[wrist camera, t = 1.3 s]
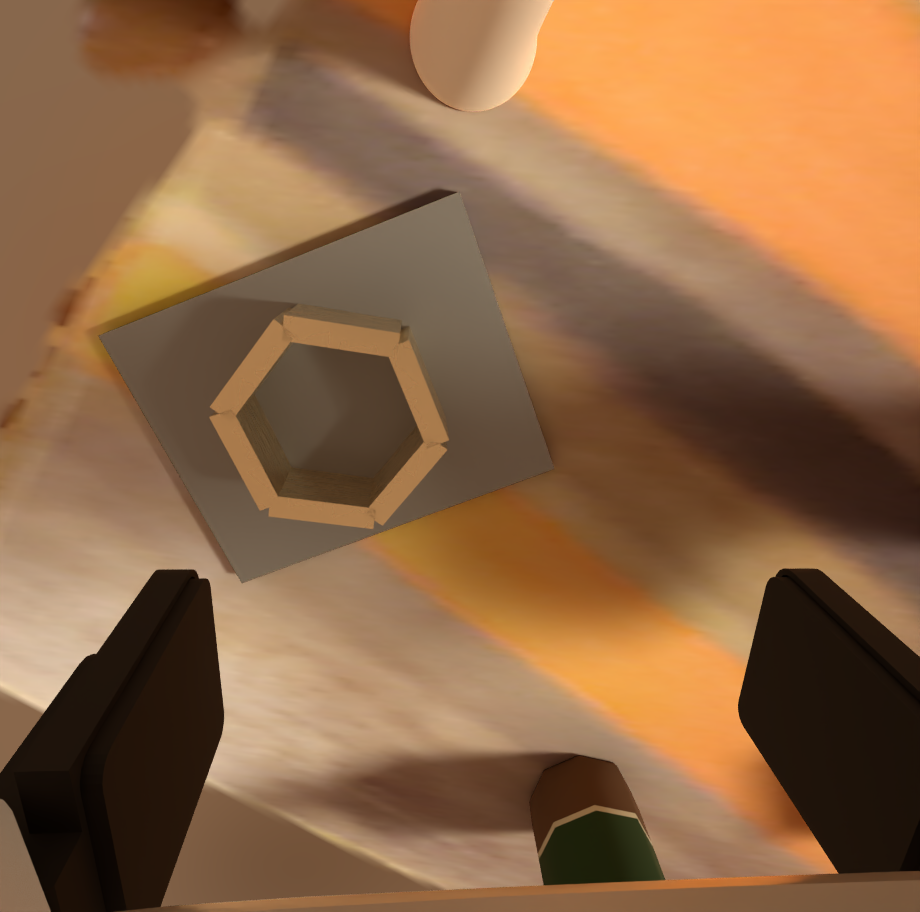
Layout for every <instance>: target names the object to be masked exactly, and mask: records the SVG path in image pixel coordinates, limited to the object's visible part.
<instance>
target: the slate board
mask: <svg viewBox="0 0 920 912" xmlns="http://www.w3.org/2000/svg"><path fill="white" fill-rule="evenodd" d="M297 304H304V305H310V306H317V307H323V308H329V309H335V310H342V311H348V312H354V313H360V314H367V315H373V316H379V317H385V318H392V319H398V320H402V323H401V329H404V328H407V327H409V326H410V329H411V331H412V334H413V336H414V339H415V341H416V344H417V346H418V349H419V351H420V354H421V356H422V359H423V361H424V364H425V366H426V369H427V371H428V374H429V376H430V379H431V381H432V384H433V386H434V389H435V391H436V394H437V396H438V399H439V401H440V404H441V406H442V409H443V411H444V414H445V417H446V423H447V429H448V436H449V441H446V443H447V451H446V452H445V453H444V455H443V456H442V457H441V458H440V459H439V460H438V462H437V463H436V464H435V465H434V466H433V467H432V469H431V470H430V471H429V472H428V473H427V474H426V476H425V477H424V478H423V479H422V480H421V481H420V483H419V484H418V485H417V486H416V487H415V488H414V490H413V491H412V492H411V493H410V494H409V495H408V497H407V498H406V499H405V500H404V501H403V502H402V504H401V505H400V506H399V507H398V508H397V509H396V511H395V512H394V513H393V514H392V515H391V516H390V518H389V519H388V520H387V521H386V522H385V523H384V525H383V526H382V525H381V524H379V523H378V522H376V521H375V520H374V527H373V529H368V528H359V527H351V526H343V525H335V524H326V523H318V522H310V521H301V520H293V519H285V518H277V517H269V508H266V509H264V510H261V511H260V510H259V508H258V506H257V505H256V503H255V501H254V499H253V497H252V495H251V494H250V492H249V490H248V488H247V486H246V484H245V482H244V481H243V479H242V477H241V475H240V473H239V471H238V470H237V468H236V466H235V464H234V462H233V460H232V458H231V457H230V455H229V453H228V451H227V449H226V447H225V446H224V444H223V442H222V440H221V438H220V436H219V435H218V433H217V431H216V429H215V427H214V425H213V423H212V422H211V420H210V418H209V417H210V416H211V415H212V414H213V413H214V412H215V410H213V409H212V408H210V406H211V404H212V403H213V402H214V400H215V399H216V398H217V396H218V395H219V393H220V392H221V391H222V389H223V388H224V387H225V385H226V384H227V382H228V381H229V380H230V378H231V377H232V376H233V374H234V373H235V371H236V370H237V369H238V367H239V366H240V365H241V363H242V362H243V360H244V359H245V358H246V356H247V355H248V354H249V352H250V351H251V349H252V348H253V347H254V345H255V344H256V343H257V341H258V340H259V338H260V337H261V336H262V334H263V333H264V332H265V330H266V329H267V327H268V326H269V325H270V323H271V322H272V321H273V319H274V318H276V317H277V316H278V315H280V314H281V313H282V312H284V311H285V310H286V309H287V308H291V309H292V308H293V307H295V306H296V305H297ZM99 338H100V340H101V342H102V343H103V345H104V347H105V348H106V350H107V352H108V354H109V355H110V357H111V359H112V360H113V362H114V364H115V366H116V367H117V369H118V371H119V373H120V374H121V376H122V378H123V379H124V381H125V383H126V385H127V386H128V388H129V390H130V391H131V393H132V395H133V397H134V398H135V400H136V402H137V404H138V405H139V407H140V409H141V410H142V412H143V414H144V416H145V417H146V419H147V421H148V423H149V424H150V426H151V428H152V429H153V431H154V433H155V435H156V436H157V438H158V440H159V441H160V443H161V445H162V447H163V448H164V450H165V452H166V454H167V455H168V457H169V459H170V460H171V462H172V464H173V466H174V467H175V469H176V471H177V472H178V474H179V476H180V478H181V479H182V481H183V483H184V485H185V486H186V488H187V490H188V491H189V493H190V495H191V497H192V498H193V500H194V502H195V503H196V505H197V507H198V509H199V510H200V512H201V514H202V516H203V517H204V519H205V521H206V522H207V524H208V526H209V528H210V529H211V531H212V533H213V534H214V536H215V538H216V540H217V541H218V543H219V545H220V547H221V548H222V550H223V552H224V553H225V555H226V557H227V559H228V560H229V562H230V564H231V565H232V567H233V569H234V571H235V572H236V574H237V576H238V578H239V579H240V581H241V583H244V582H247V581H249V580H252V579H255V578H258V577H260V576H263V575H266V574H268V573H271V572H274V571H277V570H279V569H282V568H285V567H288V566H290V565H293V564H296V563H299V562H301V561H304V560H307V559H309V558H312V557H315V556H318V555H320V554H323V553H326V552H329V551H331V550H334V549H337V548H340V547H342V546H345V545H348V544H350V543H353V542H356V541H359V540H361V539H364V538H367V537H370V536H372V535H375V534H378V533H381V532H383V531H386V530H389V529H391V528H394V527H397V526H400V525H402V524H405V523H408V522H411V521H413V520H416V519H419V518H422V517H424V516H427V515H430V514H432V513H435V512H438V511H441V510H443V509H446V508H449V507H452V506H454V505H457V504H460V503H463V502H465V501H468V500H471V499H473V498H476V497H479V496H482V495H484V494H487V493H490V492H493V491H495V490H498V489H501V488H503V487H506V486H509V485H512V484H514V483H517V482H520V481H523V480H525V479H528V478H531V477H534V476H536V475H539V474H542V473H544V472H547V471H550V470H553V469H554V466H553V463H552V460H551V457H550V454H549V451H548V448H547V445H546V442H545V440H544V437H543V434H542V431H541V428H540V425H539V422H538V419H537V416H536V413H535V410H534V407H533V405H532V402H531V399H530V396H529V393H528V390H527V387H526V384H525V381H524V378H523V375H522V372H521V370H520V367H519V364H518V361H517V358H516V355H515V352H514V349H513V346H512V343H511V340H510V338H509V335H508V332H507V329H506V326H505V323H504V320H503V317H502V314H501V311H500V308H499V305H498V303H497V300H496V297H495V294H494V291H493V288H492V285H491V282H490V279H489V276H488V273H487V270H486V268H485V265H484V262H483V259H482V256H481V253H480V250H479V247H478V244H477V241H476V238H475V235H474V233H473V230H472V227H471V224H470V221H469V218H468V215H467V212H466V209H465V206H464V203H463V201H462V198H461V195H460V192H457V193H455V194H452V195H450V196H447V197H445V198H442V199H440V200H437V201H435V202H432V203H430V204H427V205H425V206H422V207H420V208H417V209H415V210H412V211H410V212H407V213H405V214H402V215H400V216H397V217H395V218H392V219H390V220H387V221H385V222H382V223H380V224H377V225H375V226H372V227H370V228H367V229H365V230H362V231H360V232H357V233H355V234H352V235H350V236H347V237H345V238H342V239H339V240H337V241H334V242H332V243H329V244H327V245H324V246H322V247H319V248H317V249H314V250H312V251H309V252H307V253H304V254H302V255H299V256H297V257H294V258H292V259H289V260H287V261H284V262H282V263H279V264H277V265H274V266H272V267H269V268H267V269H264V270H262V271H259V272H257V273H254V274H252V275H249V276H247V277H244V278H242V279H239V280H237V281H234V282H232V283H229V284H227V285H224V286H222V287H219V288H217V289H214V290H212V291H209V292H207V293H204V294H202V295H199V296H197V297H194V298H192V299H189V300H187V301H184V302H182V303H179V304H177V305H174V306H172V307H169V308H167V309H164V310H162V311H159V312H157V313H154V314H152V315H149V316H147V317H144V318H142V319H139V320H137V321H134V322H132V323H129V324H127V325H124V326H122V327H119V328H117V329H114V330H112V331H109V332H107V333H104V334H102V335H99ZM255 396H256V398H257V400H258V402H259V404H260V406H261V408H262V410H263V412H264V414H265V416H266V418H267V420H268V422H269V424H270V426H271V428H272V430H273V432H274V434H275V436H276V437H277V439H278V441H279V443H280V445H281V447H282V449H283V451H284V453H285V455H286V457H287V459H288V461H289V463H290V465H291V467H292V468H299V469H307V470H314V471H322V472H330V473H337V474H345V475H353V476H360V477H368V478H374V476H375V475H376V474H377V473H378V472H379V470H380V469H381V468H382V467H383V466H384V464H385V463H386V462H387V461H388V460H389V458H390V457H391V456H392V455H393V454H394V452H395V451H396V450H397V449H398V448H399V446H400V445H401V444H402V443H403V442H404V440H405V439H406V438H407V437H408V436H409V434H410V433H411V432H412V431H413V430H414V428H415V427H416V426H417V424H416V421H415V419H414V416H413V414H412V412H411V409H410V407H409V404H408V402H407V400H406V397H405V395H404V392H403V390H402V388H401V385H400V383H399V380H398V378H397V376H396V373H395V371H394V369H393V366H392V364H391V361H390V359H389V357H386V356H379V355H373V354H366V353H359V352H353V351H346V350H340V349H333V348H327V347H320V346H314V345H307V344H301V343H294V342H293V343H292V345H291V346H290V347H289V349H288V350H287V351H286V353H285V354H284V355H283V357H282V358H281V359H280V361H279V362H278V363H277V365H276V366H275V367H274V369H273V370H272V371H271V373H270V374H269V375H268V377H267V378H266V379H265V381H264V382H263V384H262V385H261V386H260V388H259V389H258V390H257V392H256V393H255Z"/></svg>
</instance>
